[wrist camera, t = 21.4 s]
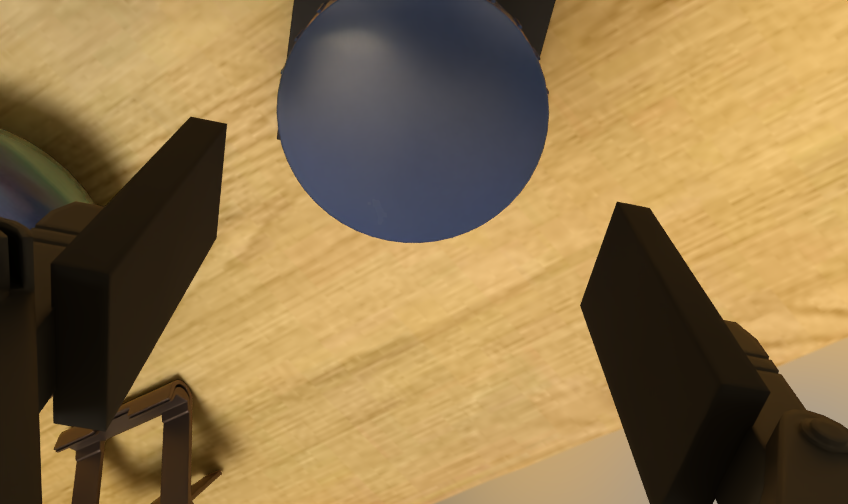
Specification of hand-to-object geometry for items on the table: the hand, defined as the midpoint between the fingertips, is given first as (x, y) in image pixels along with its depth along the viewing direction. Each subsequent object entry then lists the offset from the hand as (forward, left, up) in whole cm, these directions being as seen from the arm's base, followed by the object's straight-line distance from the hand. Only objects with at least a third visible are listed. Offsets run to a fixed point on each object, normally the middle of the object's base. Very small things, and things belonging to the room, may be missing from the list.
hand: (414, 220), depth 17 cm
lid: (0, 0, -7) cm, 7 cm away
